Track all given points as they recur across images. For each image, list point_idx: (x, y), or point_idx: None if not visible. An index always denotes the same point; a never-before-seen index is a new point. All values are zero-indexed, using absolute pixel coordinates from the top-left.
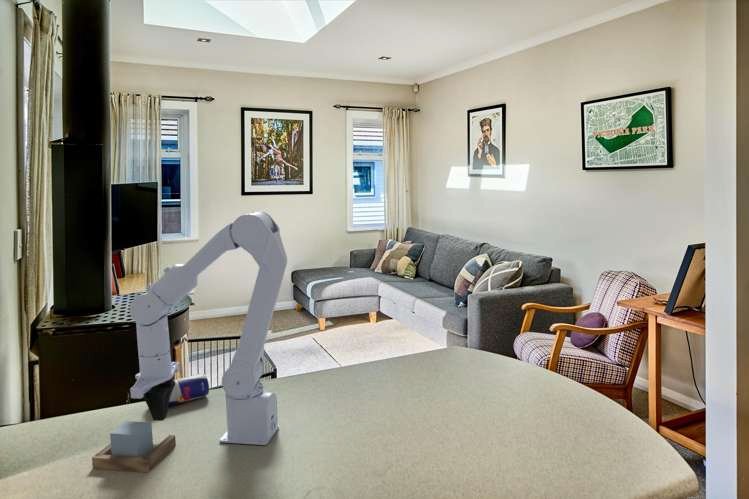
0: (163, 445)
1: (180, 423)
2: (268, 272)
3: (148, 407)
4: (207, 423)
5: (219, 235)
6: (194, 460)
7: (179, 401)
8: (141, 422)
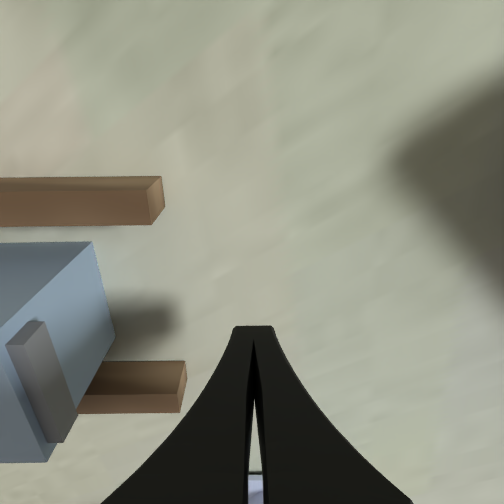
0: (92, 411)
1: (374, 315)
2: None
3: (209, 380)
4: (372, 399)
5: None
6: (116, 455)
7: None
8: (20, 422)
